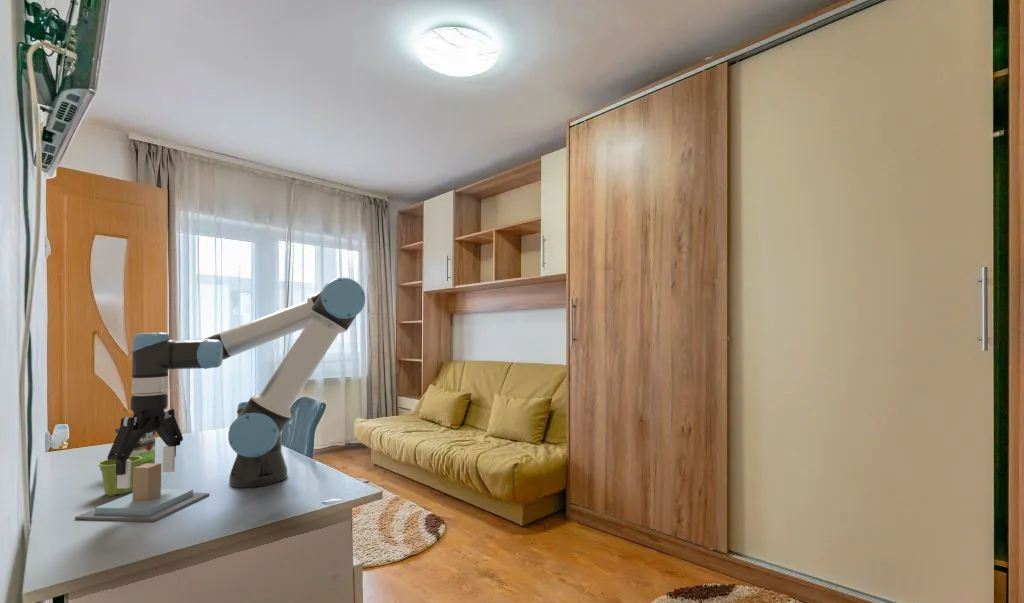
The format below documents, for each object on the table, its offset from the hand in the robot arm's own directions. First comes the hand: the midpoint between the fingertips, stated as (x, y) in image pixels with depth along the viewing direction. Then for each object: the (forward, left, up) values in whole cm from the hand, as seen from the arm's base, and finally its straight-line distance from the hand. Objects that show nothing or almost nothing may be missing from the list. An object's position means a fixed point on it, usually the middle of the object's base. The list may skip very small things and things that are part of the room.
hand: (147, 479), depth 124 cm
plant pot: (+17, -10, -7) cm, 21 cm away
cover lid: (0, 0, -6) cm, 6 cm away
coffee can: (+30, -29, -7) cm, 42 cm away
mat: (0, 0, -7) cm, 7 cm away
